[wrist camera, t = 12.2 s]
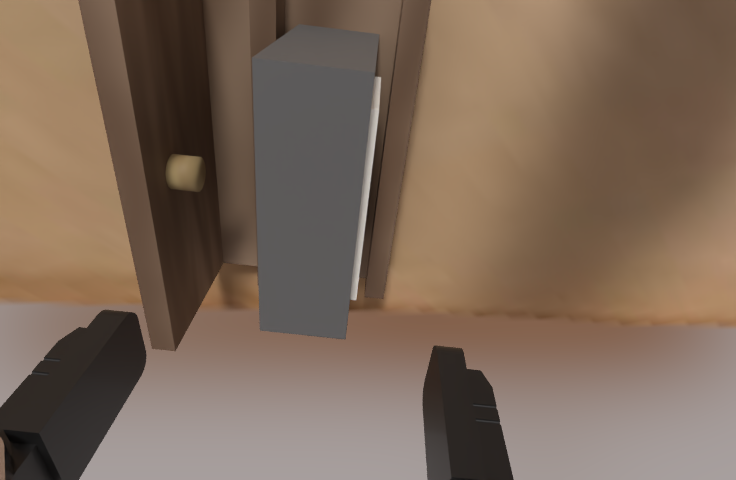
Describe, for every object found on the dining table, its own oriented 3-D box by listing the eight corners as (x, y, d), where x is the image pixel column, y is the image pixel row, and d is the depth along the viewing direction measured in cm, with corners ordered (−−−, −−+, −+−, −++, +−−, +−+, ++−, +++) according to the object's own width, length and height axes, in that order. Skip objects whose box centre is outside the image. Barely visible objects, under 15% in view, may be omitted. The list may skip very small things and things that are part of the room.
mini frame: (385, 34, 22) (384, 73, 15) (361, 238, 29) (351, 340, 21) (298, 24, 22) (251, 57, 14) (294, 231, 28) (259, 330, 21)
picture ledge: (429, -30, 22) (453, -25, 14) (383, 267, 31) (382, 372, 23) (183, -61, 22) (62, -74, 14) (213, 248, 31) (152, 348, 23)
